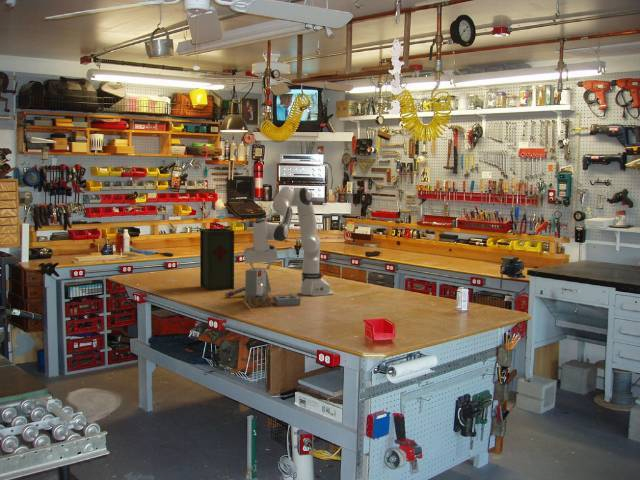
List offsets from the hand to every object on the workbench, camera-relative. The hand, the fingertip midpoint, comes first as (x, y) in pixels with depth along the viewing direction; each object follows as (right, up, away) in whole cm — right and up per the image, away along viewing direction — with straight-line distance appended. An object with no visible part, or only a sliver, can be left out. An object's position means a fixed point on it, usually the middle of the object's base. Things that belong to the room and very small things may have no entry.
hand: (260, 269), depth 387 cm
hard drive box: (-5, -20, +20) cm, 29 cm away
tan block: (+19, -20, +8) cm, 29 cm away
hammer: (-12, -19, +35) cm, 41 cm away
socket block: (+15, -22, +8) cm, 28 cm away
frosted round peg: (-1, -20, +2) cm, 20 cm away
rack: (-1, -22, +3) cm, 22 cm away
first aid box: (-36, -15, +61) cm, 72 cm away
